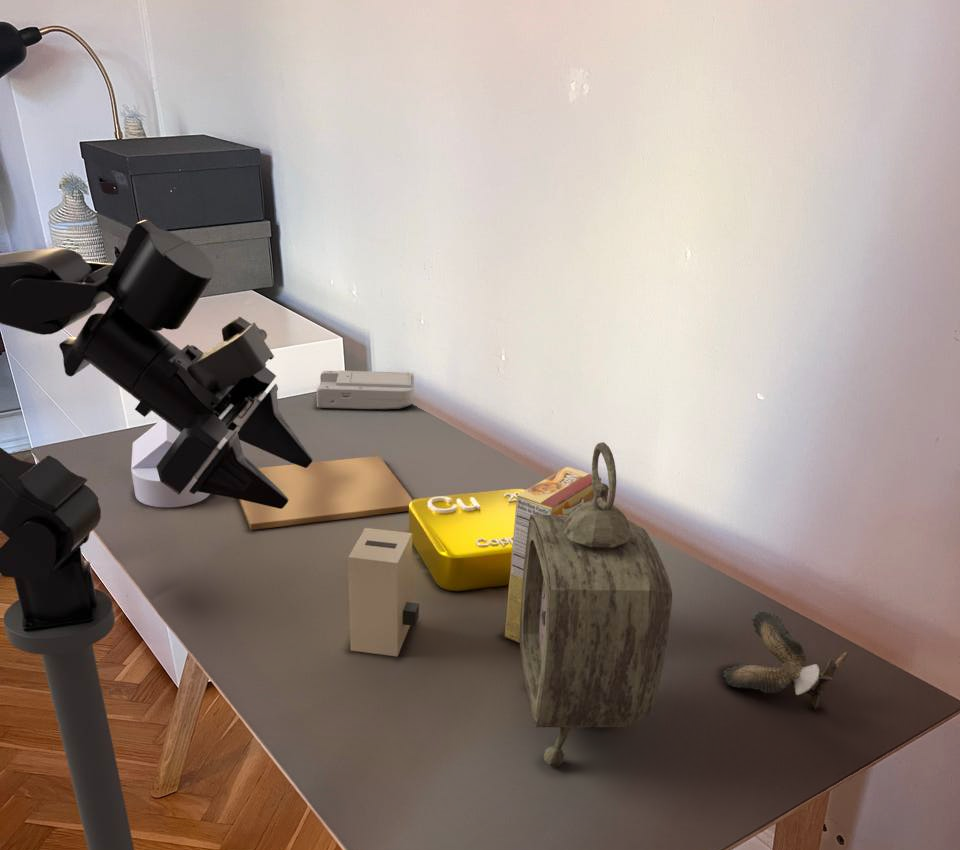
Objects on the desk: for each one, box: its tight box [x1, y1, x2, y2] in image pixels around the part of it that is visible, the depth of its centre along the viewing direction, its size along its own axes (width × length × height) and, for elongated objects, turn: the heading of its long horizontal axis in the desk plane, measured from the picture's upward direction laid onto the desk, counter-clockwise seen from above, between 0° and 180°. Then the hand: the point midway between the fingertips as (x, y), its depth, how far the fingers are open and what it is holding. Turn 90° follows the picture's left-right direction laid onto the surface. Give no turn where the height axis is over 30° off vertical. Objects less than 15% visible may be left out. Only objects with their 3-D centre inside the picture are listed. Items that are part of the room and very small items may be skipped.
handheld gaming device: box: [315, 370, 415, 410], centre depth 147 cm, size 9×15×4 cm, turn 93°
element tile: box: [408, 488, 526, 592], centre depth 105 cm, size 15×15×5 cm
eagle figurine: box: [722, 609, 849, 710], centre depth 85 cm, size 8×7×9 cm
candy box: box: [504, 466, 602, 644], centre depth 90 cm, size 9×4×15 cm, turn 145°
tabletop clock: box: [519, 441, 673, 767], centre depth 74 cm, size 14×9×25 cm, turn 4°
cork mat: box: [238, 455, 414, 531], centre depth 118 cm, size 20×16×1 cm
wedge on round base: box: [130, 418, 211, 508], centre depth 116 cm, size 9×7×13 cm
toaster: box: [347, 527, 420, 657], centre depth 88 cm, size 6×6×10 cm
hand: (298, 483), depth 86 cm, fingers open, 9 cm apart
